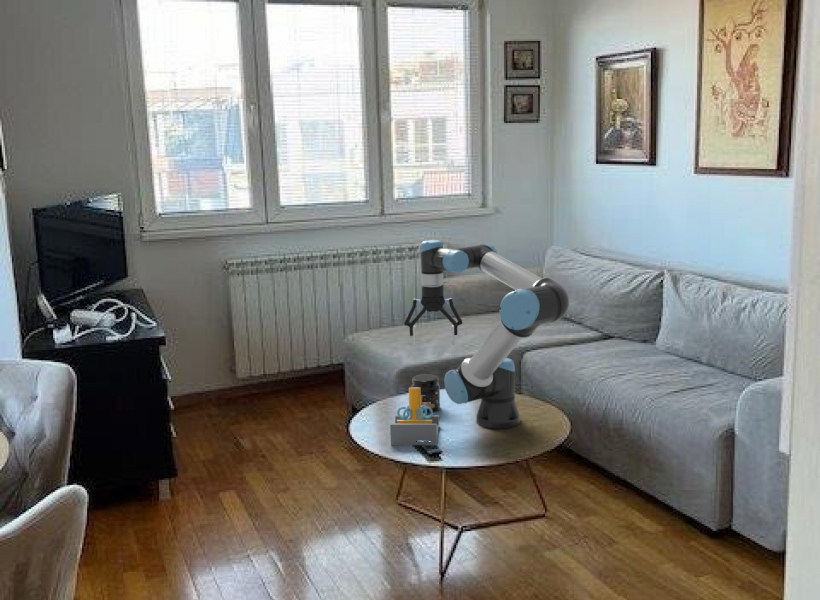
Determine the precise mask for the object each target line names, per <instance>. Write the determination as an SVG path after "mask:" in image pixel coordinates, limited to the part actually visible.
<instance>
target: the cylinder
mask: <svg viewBox="0 0 820 600" xmlns="http://www.w3.org/2000/svg"><path fill="white" fill-rule="evenodd" d="M427 409H429V410H430V413H429V415H430V416H429V417H425V416H426V415H427ZM401 410H403V412H402V415H403V417H402V416H400V415H401V414H400V412H401ZM424 410H425V413H423V411H424ZM396 415H398V417H399V418H401V419H405V420H424V419H430V418H431V417H432V416H433V415H434V412H433V410H432V409H431V408H430V407H426V406H424V405H422V406H421V388H420V387H411V386H410V387H408V405H407V407H406V406H400V407H399V408H397V411H396ZM405 415H406V416H405ZM423 418H424V419H423Z"/></svg>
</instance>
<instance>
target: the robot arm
mask: <svg viewBox="0 0 820 600" xmlns="http://www.w3.org/2000/svg"><path fill="white" fill-rule="evenodd" d="M419 254H420V267H421V272H420V273H421V274H420V275H421V285H422V286H421V299H417V298H416V297H415V298H413V301H412V306H411V308H410V310H409V312H408V314H407V317H406V318H405V320H404V323H403V324H404V326H407V327H409V336H410V337H412V340H413V341H412V344H413V346H414V347H415V346H416V344H417V342H416V339H417V338H416V337H417V336H416V335H417V334H416V325H415V324H416V323H417V322H418V321H419V320H420V319H421V317H422V316H423V315H424V314H425V313H426V311H427V312H429V313H432V312H435V313H437V312H439V311H440V312H441V314H443V315H444V316H445V318H447V320H448V321H449V322H450V323H451V324H452V325H451V345H452V346H455V336H458V327H459V326H461V325H462V324H463V320H462V318H461V316H460V314H459V312H458V310H457V308H456V307H455V305H454V302H453V300H454V299H453V298H452V297H449V298H445V297H444V295H445V294H444V285H443V284H444V271H445V272H450V273H453V274H455V273H456V274H458V273H463V272H464V271H465V270H470V269H471V270H472V269H478V270H480V271H482V272H484V273H485V274H487V275H489V276H490V277H492V278H494V279H496V280H498V281H499V282H500V283H502V284H504V285H506V286H508V287H510V288H511V289H512V290H514V291H510V292H508V293H507V294H505V296H504V297H503V298H502V299H501V302H500V304H499V305H500V306H499V308H500V309H499V320H500V321H499V322H498V324H497V325H496V326H495V327H494V329H493V330H492V332H491V333H490V334H489V335H488V336H487V338H486V339H485V340H484V341H483V343H482V344H481V345H480V346H479V348H478V349H477V351H476V352H475V353H474V354H473V356H472V357H471V356H470V357H466V358H465V359H464V360H462V362H461V364H460V365H459V366H458V367H457V368H456V369H450V370H448V371H447V372H446V373H445V375H444V380H443V381H444V388H445V391H446V394H447V396H448V397H449V399H450V400H451V401H452V402H453V403H455V404H456V405H461V404H467V403H470V402H474V401H477V400H480V403H479V407H478V409H477V412H476V416H475V417H476V419H475V421H476V423H477V425H479V426H480V427H483V428H488V429H498V430H501V429H503V430H505V429H511V428H514V427H516V426H518V425H520V423H521V415H520V411H519V409H518V406H517V403H516V394H515V393H516V390H515V389H516V386H515V385H516V369H515V368H516V367H515V362H514V360H512V359H511V358H510V357H509V358H508V356H509V355H510V353H512V352H513V350H514V349H515V347H516V346H517V345H518V344H519V343H520V341H521V340H522V339H528V338H529V337H530V336H532V335H533V334H534V332H535V331H536V330H537V329H538V328H539V326H542V325H545V324H550V323H554V322H557V321H559V320H561V319H562V318H563V317H564V316H566V314H567V312H568V310H569V307H570V300H569V299H570V297H569V293H568V292H567V290H566V289H565V288H564V287H563V286H562V285H561V284H560V283H558V282H556V281H555V280H552V279H551V278H549V277H541V276H539V275H537V274H535V273H533V272H531V271H529V269H526V268H524V267H523V266H520V265H519V264H516V263H515V262H513V261H510V260H509V259H507V258H506V257H504V256H502V255H500V254H499V253H498V252H497V249H496V248H495V246H493V245H491V244H486V243H485V244H484V243H483V244H478V245H472V246H466V247H465V246H464V247H457V248H444V246H443V242H442V240H437V239H430V240H429V239H428V240H424V241H422V242H421V244H420V253H419ZM445 303H446V305H448V306H449V308H450V309H451V311H452V313H453V315H454V316H455V318H454V317H453V316H452V315H451V314H450V313H449V312H448V311H447V310H446V308H445V307H444V305H445ZM419 305H422V306H423V307H422V308H421V309H420V311H418V313H417V314H416V316H414V317H413V319H412V320H411V318H412V316H413V314H414V312H415V311H416V308H417V306H419ZM410 320H411V321H410Z"/></svg>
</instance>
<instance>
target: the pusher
mask: <svg viewBox="0 0 820 600" xmlns="http://www.w3.org/2000/svg"><path fill="white" fill-rule="evenodd" d="M397 423H432V420H397Z"/></svg>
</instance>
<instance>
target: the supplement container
mask: <svg viewBox="0 0 820 600" xmlns="http://www.w3.org/2000/svg"><path fill="white" fill-rule="evenodd" d="M411 380H412V381H411V382H412V385H411V386H410V388H411V387H420V388H421V406H422V405H424V406H426V407H430V408H431V409H432V410H433V413H434V412H437V411H439V410H440V408H441V401H440V400H441V397H440V396H441V395H440V394H441V393H440V391H441V386H440V384H439V377H438V376H437V375H436V374H431V373H423V374H416V375H414V376H413V377H412V378H411ZM424 413H425V410H424V411H423V414H424ZM427 413H429V414H431V412H430V410H429V409H427Z"/></svg>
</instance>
